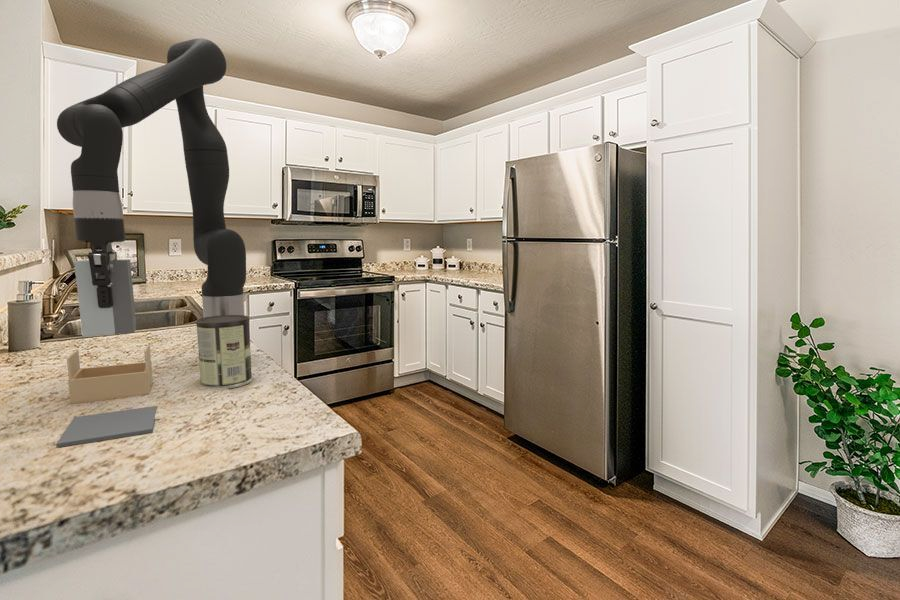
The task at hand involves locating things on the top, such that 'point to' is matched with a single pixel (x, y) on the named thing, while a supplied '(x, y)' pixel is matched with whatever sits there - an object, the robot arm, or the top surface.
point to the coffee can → (224, 351)
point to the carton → (108, 379)
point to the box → (123, 307)
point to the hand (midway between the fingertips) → (108, 305)
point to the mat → (108, 426)
